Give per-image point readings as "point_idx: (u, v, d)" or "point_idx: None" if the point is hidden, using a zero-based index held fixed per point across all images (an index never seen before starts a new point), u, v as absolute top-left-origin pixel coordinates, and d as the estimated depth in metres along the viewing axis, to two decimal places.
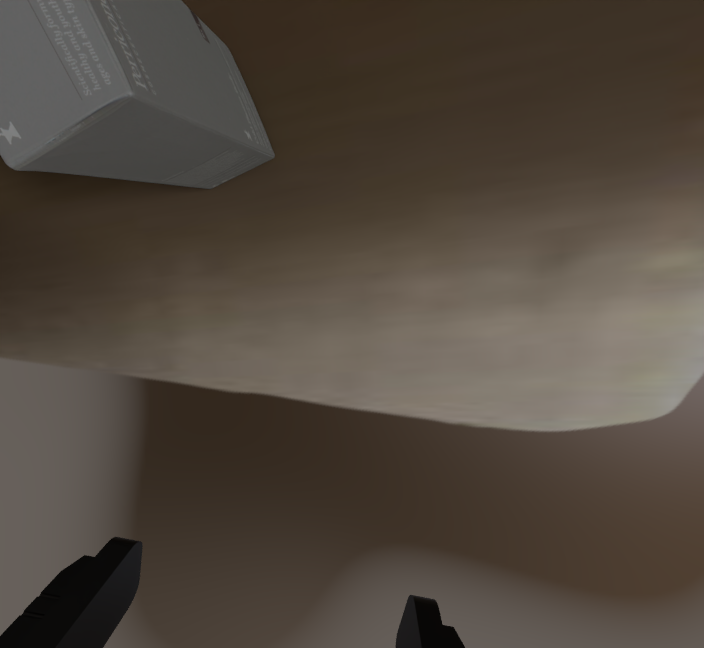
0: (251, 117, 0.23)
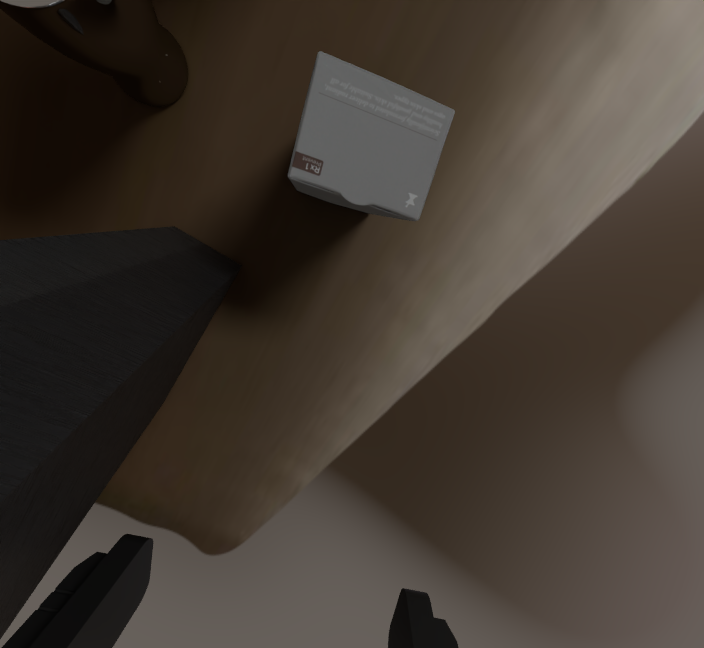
0: None
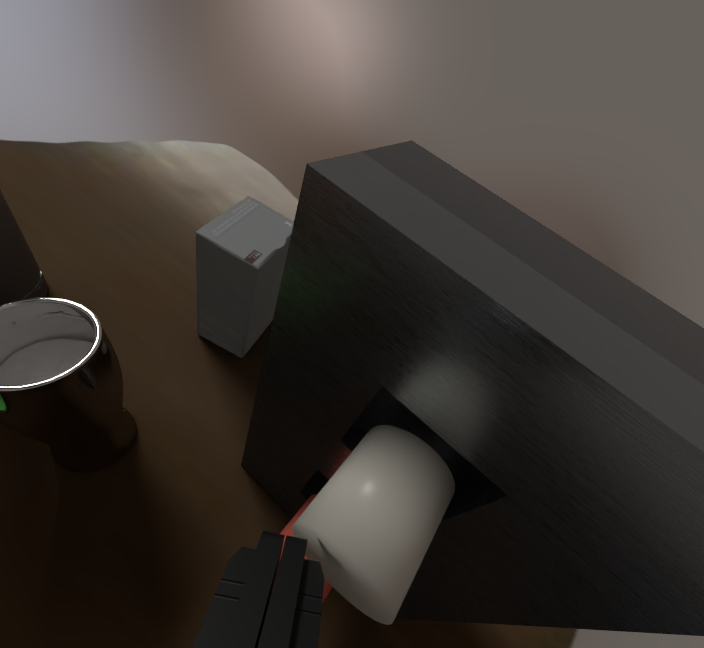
0: None
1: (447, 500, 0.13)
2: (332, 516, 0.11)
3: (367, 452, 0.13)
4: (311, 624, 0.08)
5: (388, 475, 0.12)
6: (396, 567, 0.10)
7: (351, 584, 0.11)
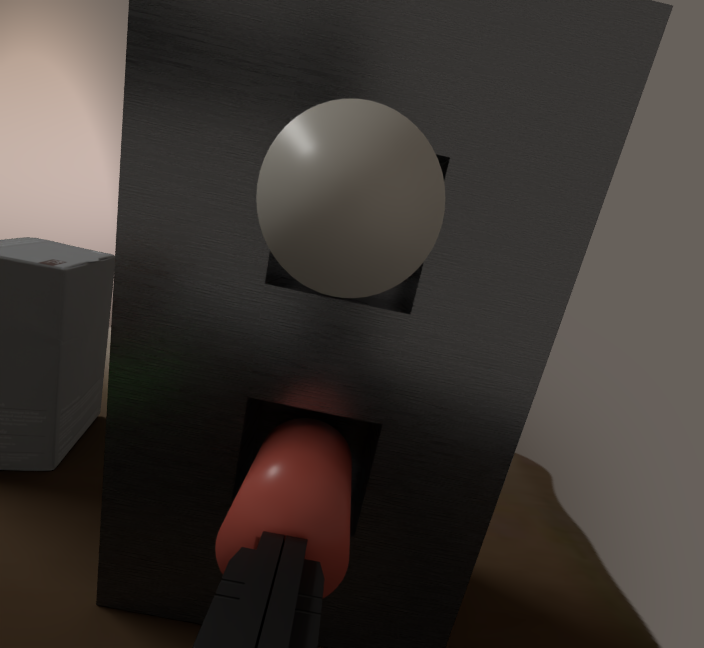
0: None
1: None
2: None
3: None
4: (311, 624, 0.08)
5: None
6: None
7: (374, 201, 0.08)
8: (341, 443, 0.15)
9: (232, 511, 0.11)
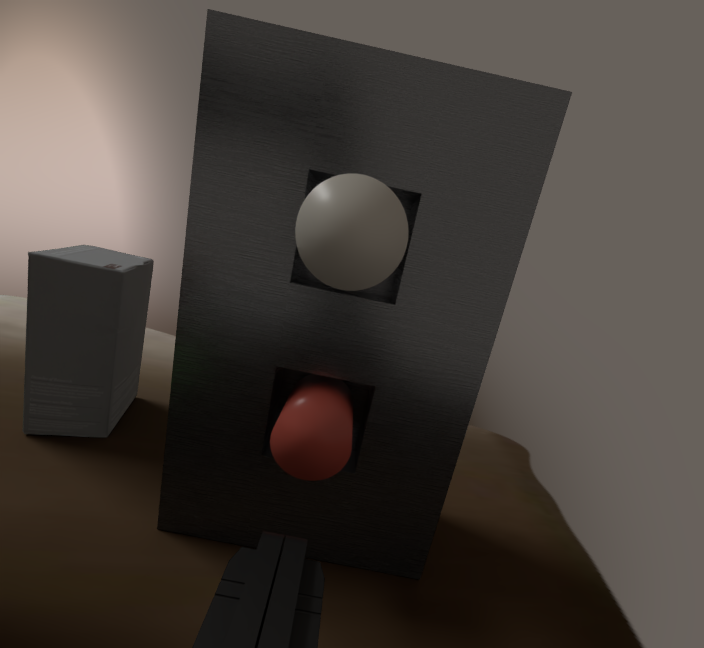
0: None
1: None
2: None
3: None
4: (311, 624, 0.08)
5: None
6: None
7: (366, 232, 0.13)
8: (346, 389, 0.22)
9: (281, 417, 0.17)
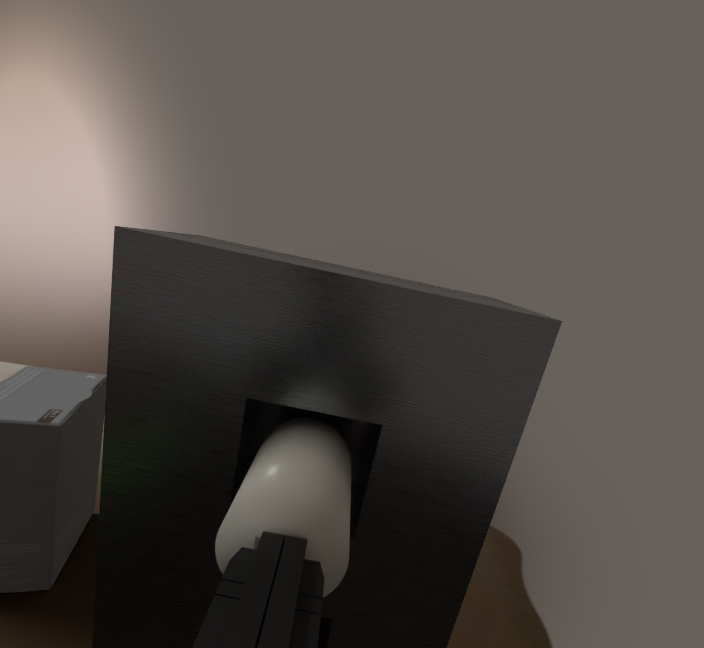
0: None
1: (346, 452, 0.15)
2: (252, 488, 0.11)
3: (263, 448, 0.14)
4: (311, 624, 0.08)
5: (289, 443, 0.13)
6: (326, 491, 0.11)
7: None
8: None
9: None
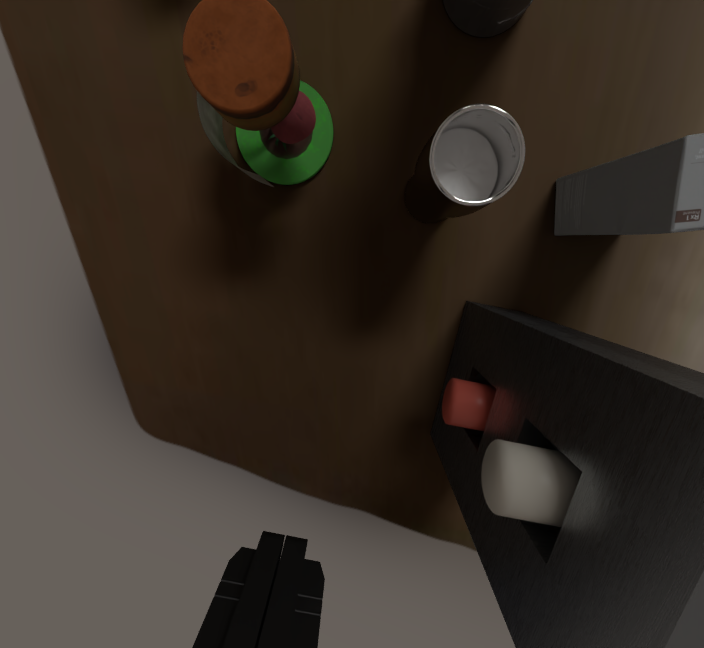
0: None
1: None
2: (526, 475, 0.19)
3: (571, 475, 0.19)
4: (311, 624, 0.08)
5: (565, 498, 0.19)
6: (520, 515, 0.19)
7: (496, 484, 0.21)
8: None
9: (459, 388, 0.30)
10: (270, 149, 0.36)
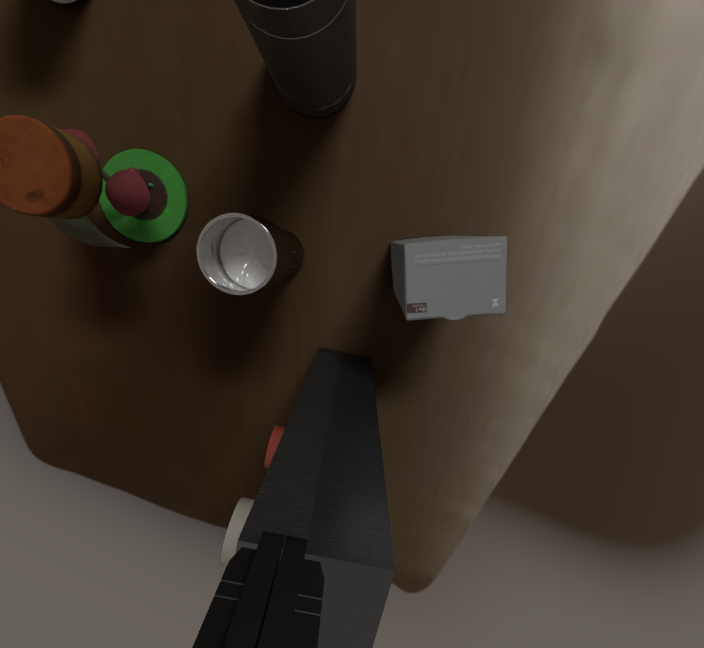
0: None
1: None
2: (235, 534, 0.23)
3: None
4: (311, 624, 0.08)
5: None
6: None
7: None
8: None
9: (271, 437, 0.34)
10: None
